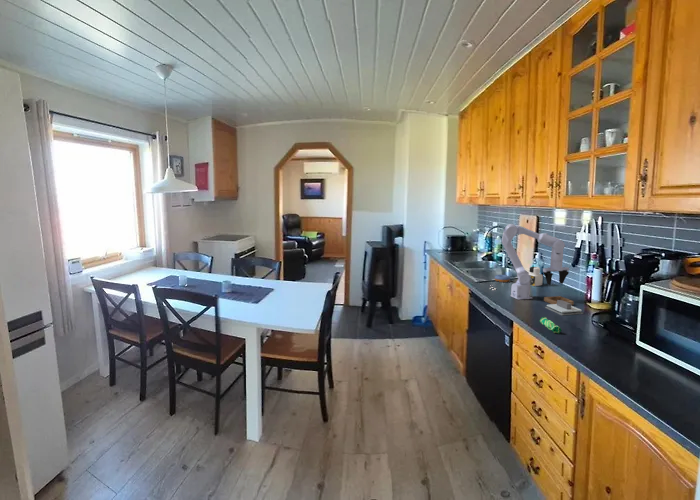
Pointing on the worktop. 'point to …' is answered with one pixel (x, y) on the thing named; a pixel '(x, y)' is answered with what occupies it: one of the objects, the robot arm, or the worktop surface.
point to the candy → (550, 325)
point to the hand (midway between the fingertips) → (554, 283)
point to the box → (554, 299)
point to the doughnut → (502, 278)
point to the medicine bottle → (535, 276)
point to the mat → (564, 313)
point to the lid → (563, 307)
